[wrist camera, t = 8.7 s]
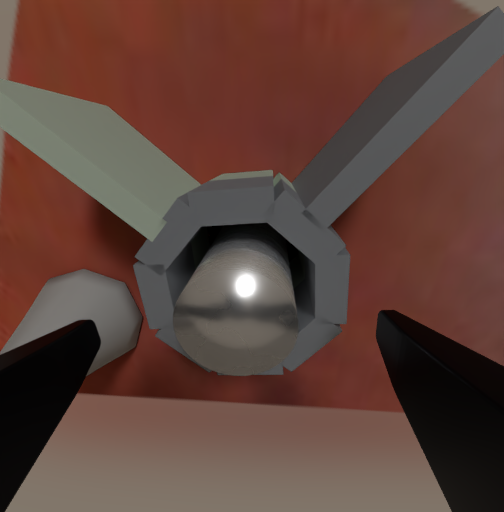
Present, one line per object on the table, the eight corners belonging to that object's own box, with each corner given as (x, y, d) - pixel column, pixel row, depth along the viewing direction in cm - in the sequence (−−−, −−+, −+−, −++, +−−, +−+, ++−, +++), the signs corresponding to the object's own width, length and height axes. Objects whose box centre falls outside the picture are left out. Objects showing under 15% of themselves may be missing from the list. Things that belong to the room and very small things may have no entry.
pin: (283, 205, 16) (297, 267, 8) (286, 266, 17) (299, 375, 9) (217, 209, 16) (161, 273, 8) (225, 269, 18) (184, 376, 9)
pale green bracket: (345, 233, 16) (394, 289, 10) (259, 315, 19) (253, 402, 12) (140, 45, 13) (18, -52, 7) (72, 172, 16) (-64, 187, 10)
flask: (150, 354, 21) (54, 516, 12) (61, 348, 21) (-101, 500, 12) (137, 269, 18) (0, 393, 9) (36, 264, 19) (-196, 378, 9)
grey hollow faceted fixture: (259, 315, 19) (253, 402, 12) (165, 243, 17) (102, 300, 11) (444, 140, 14) (590, 133, 8) (337, 19, 13) (407, -118, 6)
